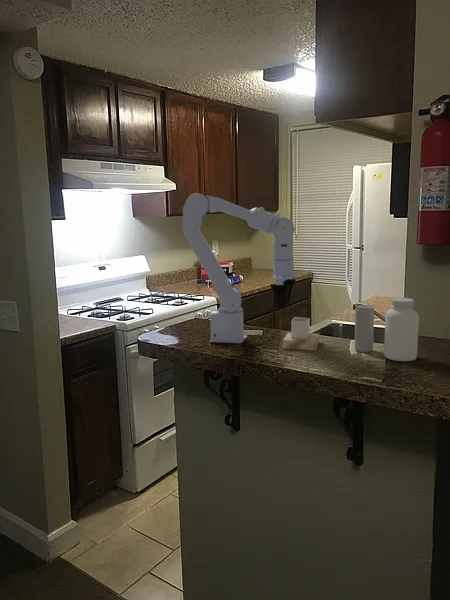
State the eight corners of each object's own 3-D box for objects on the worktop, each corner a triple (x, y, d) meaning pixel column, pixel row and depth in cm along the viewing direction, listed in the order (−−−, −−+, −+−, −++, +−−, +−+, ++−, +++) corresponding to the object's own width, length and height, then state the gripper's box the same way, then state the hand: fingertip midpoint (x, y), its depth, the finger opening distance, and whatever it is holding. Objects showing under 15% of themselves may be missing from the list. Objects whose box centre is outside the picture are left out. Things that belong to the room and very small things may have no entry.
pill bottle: (423, 360, 125) (426, 301, 123) (393, 363, 124) (395, 302, 122) (407, 352, 133) (409, 296, 131) (378, 354, 132) (379, 297, 129)
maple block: (282, 350, 140) (282, 339, 139) (288, 342, 148) (287, 332, 148) (315, 352, 137) (316, 341, 137) (319, 343, 146) (319, 333, 145)
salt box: (291, 338, 141) (291, 319, 140) (294, 334, 145) (294, 316, 144) (306, 339, 140) (307, 320, 139) (309, 335, 144) (309, 317, 143)
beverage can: (369, 354, 132) (370, 308, 130) (351, 351, 135) (352, 307, 133) (375, 349, 136) (376, 305, 134) (358, 347, 139) (359, 304, 137)
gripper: (293, 262, 139) (293, 311, 141) (300, 257, 152) (300, 301, 155) (268, 262, 140) (268, 310, 143) (277, 257, 154) (277, 301, 156)
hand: (283, 306), depth 149 cm, fingers open, 7 cm apart
